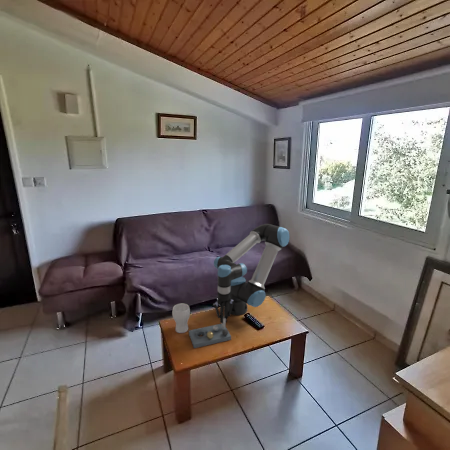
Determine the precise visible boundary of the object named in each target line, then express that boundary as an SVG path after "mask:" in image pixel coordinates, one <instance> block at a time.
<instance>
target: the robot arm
mask: <svg viewBox="0 0 450 450" xmlns="http://www.w3.org/2000/svg"><path fill="white" fill-rule="evenodd" d="M263 241H264V244H265V247H264V249H263V251H262V254H261V256H260V259H259V261H258V262H257V263H258V264H257V266H256V268H255V269H254V270H255V271H254V272H253V274H252V277H251V279H249V280H247V279H246V277H244V276H245V275H246V274H247V273H248V268H247V266H246V265H245V264H244V263H243V262H241V263H240V262H239V263H238V264H237V263H236V262H237V261H238V260H239V259H241V258H242V257H243V256H244V255H245V254H246V253H247V252H248V251H250V250H251V249H252V248H253V247H255V245H257V244H260V243H261V242H263ZM289 241H290V231H289V230H288V229H287V228H285V227H282V226H278V225H273V224H270V223H264V224H260V225H258V226H256V227H255V228H253V229H252V230H251V231H250V232H249V235H247V236H246V237H245V238H244V239H242V240H241V241H240V242H239V243H238V244H236V245H235V246H234V247H232V248H231V249H230V250H229V251H228V252H227V253H226V254H224V255H223V256H217V257H215V259H214V260H213V267H214V268H215V269H217V299H216V301H215V302H213V303H212V305H213V306H214V309H215V312H216V316H217V318H218V319H220V320H219V323H220V324H222V327H223V329H224V328H227V327H226V323H227V322H228V318H229V317H231V315H232V316H242V315H245V314H246V313H247V312H248V308H249V307H248V306H251V307H252V308H258V307H259V306H261V305H262V304H263V303H264V301H265V299H266V295H267V294H266V292H265V289H266V288H265V283H266V281H267V278H268V276H269V274H270V271H271V269H272V266H273V264H274V261H275V260H276V257H277V254H278V253H279V251H281V250H282V249H283V247H286V246H287V245H288V244H289Z"/></svg>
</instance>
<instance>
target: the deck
mask: <svg viewBox="0 0 450 450" xmlns="http://www.w3.org/2000/svg"><path fill="white" fill-rule="evenodd" d="M215 325H217V326H218V331H214V330H213V326H215ZM224 329H226V330H227V331H228V334H227V335H226V336H224V335H223V334H222V331H223V330H224ZM224 329H223V327H222V323H219V324H218V323H217V324H212V325H208V326H204V327H199V328H194V329H190V330H189V329H188V335H189V336H188V337H189V339H190V341H191V344H192V347H193V349H197V348H198V349H199V348H202V347H205V346H210V345H213V344H219V343H222V342H223V343H224V342H227V341H232V335H231V334H230V331H229V329H228V328H227V327H226V328H224ZM209 331H211V332H213V334H214V336H213V338H212V339H208V338H207V333H208V332H209Z"/></svg>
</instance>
